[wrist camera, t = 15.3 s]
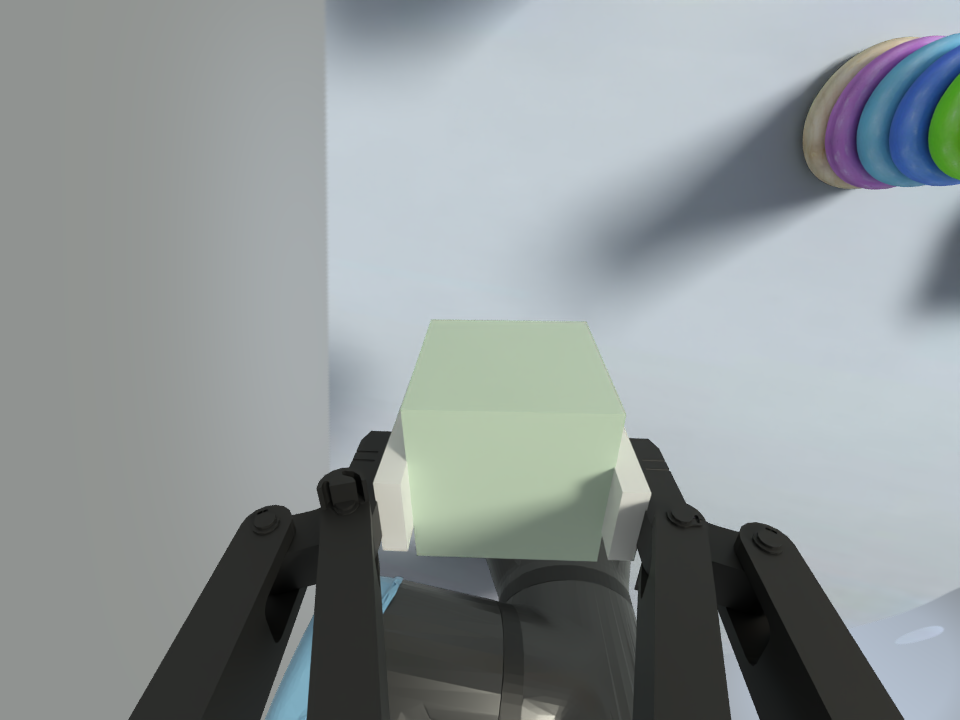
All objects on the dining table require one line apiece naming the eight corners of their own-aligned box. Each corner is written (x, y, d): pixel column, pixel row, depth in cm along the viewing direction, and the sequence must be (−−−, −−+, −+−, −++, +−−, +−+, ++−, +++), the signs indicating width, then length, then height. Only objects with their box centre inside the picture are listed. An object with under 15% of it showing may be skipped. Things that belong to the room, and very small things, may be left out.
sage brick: (570, 443, 20) (596, 561, 14) (438, 440, 20) (416, 555, 15) (586, 321, 17) (626, 414, 11) (431, 319, 17) (400, 409, 12)
